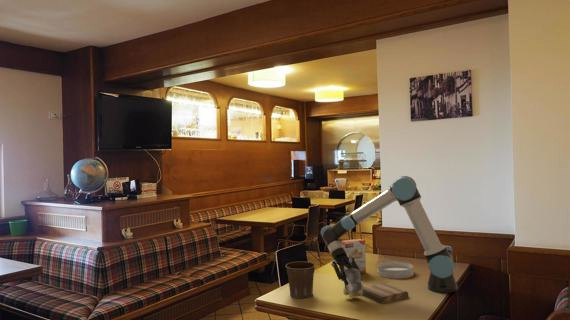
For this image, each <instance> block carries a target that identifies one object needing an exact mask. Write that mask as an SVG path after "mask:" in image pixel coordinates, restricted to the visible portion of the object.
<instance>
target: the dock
mask: <svg viewBox="0 0 570 320" xmlns="http://www.w3.org/2000/svg"><path fill="white" fill-rule="evenodd" d="M361 290H363V295H362V296H364V297H366V298H368V299H371V300H372V301H375V302H377V303H378V304H379V303H380V304H385V303H386V304H387V303H388V302H393V301H398V300H402V299H405V298H409V292H408V290H404V289H402V288H399V287H396V286H393V285H391V284H388V283H385V282H381V283H376V284H371V285H367V286H364V287H363V288H362V289H361Z"/></svg>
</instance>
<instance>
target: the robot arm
mask: <svg viewBox="0 0 570 320" xmlns="http://www.w3.org/2000/svg"><path fill="white" fill-rule="evenodd" d="M387 188H388V189H386V190H385V191H383V192H382V193H380V194H379V195H377V196H376V197H373V198H372V199H371V200H369V201H368V202H366V203H364V204H363V205H362V206H359V207H358V208H356V209H355V210H354V211H352V212H351V213H349V214H348V215H346V216H344V217H342V218H340V220H338V221H337V222H336V223H334V224H333V225H330V224H329V225H325V226H323V227H322V228H321V230H320V236H321V238H322V239H323V241H324V242H325V244H326V247H327V249H328V251H329V253H330V255H331V256H332V259H333V260H332V262H331V263H330V264H331V267H333V269H334V272H335V274H336V276H337V279H338V280H339V281H342V282H343V283H344V286H345V285H347V287H348V289H349V291H350V292H351V291H352V290H353V287H352V285H351V283H350V281H349V279H348V277H347V278H346V276H345V272H344V266H345V267H347V268H348V269H351V268H355V269H358V270H360V269H359V267H358V266H357V264H356V263H355V261H354V258H352V259H351V258H349V257H347V254H346V252H345V250H344V248H343V246H342V242H341V241H340V238H342V237H343V236H344V235H346V234H347V233H348V232H350V231H351V230H352V229H354V228H355V227H357V226H358V225H360V224H361V223H363V222H364V221H366V220H368V219H369V218H370V217H373V216H374V215H376V214H377V213H379V212H380V211H382V210H384V209H386V208H387V207H388V206H390V205H392V204H393V203H395V202H398V204H399V206H400V207H402V208H404V210H405V212H406V214H407V216H408V218H409V220H410V222H411V225H412V226H413V228H414V230H415V233H416V234H417V237H418V239H419V241H420V243H421V245H422V246H423V249H424V252H423V256H424V258H425V261H426V263H427V264H428V269H429V277H428V281H427V285H426V286H427V289H428V290H429V291H432V292H436V293H444V294H445V293H455V292H457V291H458V284H457V282H456V278H455V276H454V271H455V263H454V258H453V248H452V246H450V245H444V244H442V243H441V241H440V239H439V237H438V235H437V233H436V230H435V229H434V227H433V224H432V223H431V220H430V218H429V217H428V215H427V213H426V211H425V209H424V207H423V204H422V202H421V198H422V196H421V194H420V192H419V189H418V188H417V183H416V181H415V180H414V179H413V178H412V177H411V176H407V175H403V176H399V177H398V178H396V179H395V180H394V181H393V183H392V184H391V185H389V186H388V187H387ZM349 261H350V262H349ZM361 274H363V273H362V272H360V275H361ZM363 287H365V284H364V283H363V279H362V278H361V289H362V288H363Z"/></svg>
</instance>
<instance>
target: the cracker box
mask: <svg viewBox="0 0 570 320" xmlns="http://www.w3.org/2000/svg"><path fill="white" fill-rule="evenodd" d="M341 244H342V246H343V248H344V250H345V252H346V254H347V257H349V258H351V259H352V258H354V261H355V263H356V264H357V266H358V267H359V269H360V271H361V272H362V273H361V274H366V273H367V263H366V262H367V258H366V240H365V239H363V238H357V239H347V240H341ZM349 262H350V261H349ZM346 269H348V268H347V267H345V266H344V270H346Z"/></svg>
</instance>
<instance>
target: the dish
mask: <svg viewBox="0 0 570 320" xmlns="http://www.w3.org/2000/svg"><path fill="white" fill-rule="evenodd" d="M376 268H377V269H376V271H377V273H376V274H377V275H378V276H380V277H383V278H388V279H407V278H410V277H413V276H414V274H415V271H414V265H413V264H411V263H408V262H405V261H383V262H380V263H378V264H377V265H376Z"/></svg>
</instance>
